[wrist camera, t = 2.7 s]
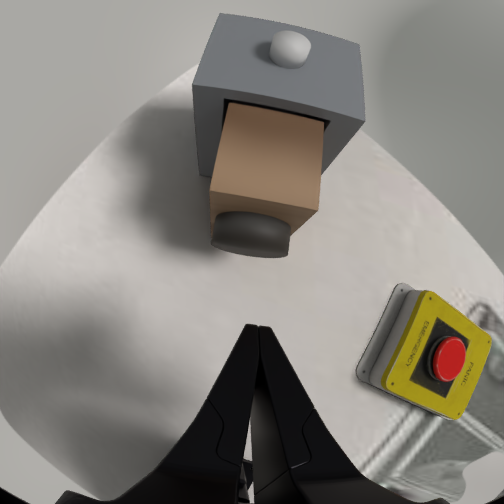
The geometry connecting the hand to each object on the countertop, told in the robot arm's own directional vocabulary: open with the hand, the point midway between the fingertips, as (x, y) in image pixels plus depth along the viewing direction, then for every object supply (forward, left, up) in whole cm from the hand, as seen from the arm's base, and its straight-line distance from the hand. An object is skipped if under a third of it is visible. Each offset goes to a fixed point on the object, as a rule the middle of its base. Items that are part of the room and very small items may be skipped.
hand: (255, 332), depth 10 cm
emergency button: (+3, -19, -14) cm, 24 cm away
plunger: (+7, +2, -13) cm, 15 cm away
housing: (+13, +4, -13) cm, 19 cm away
